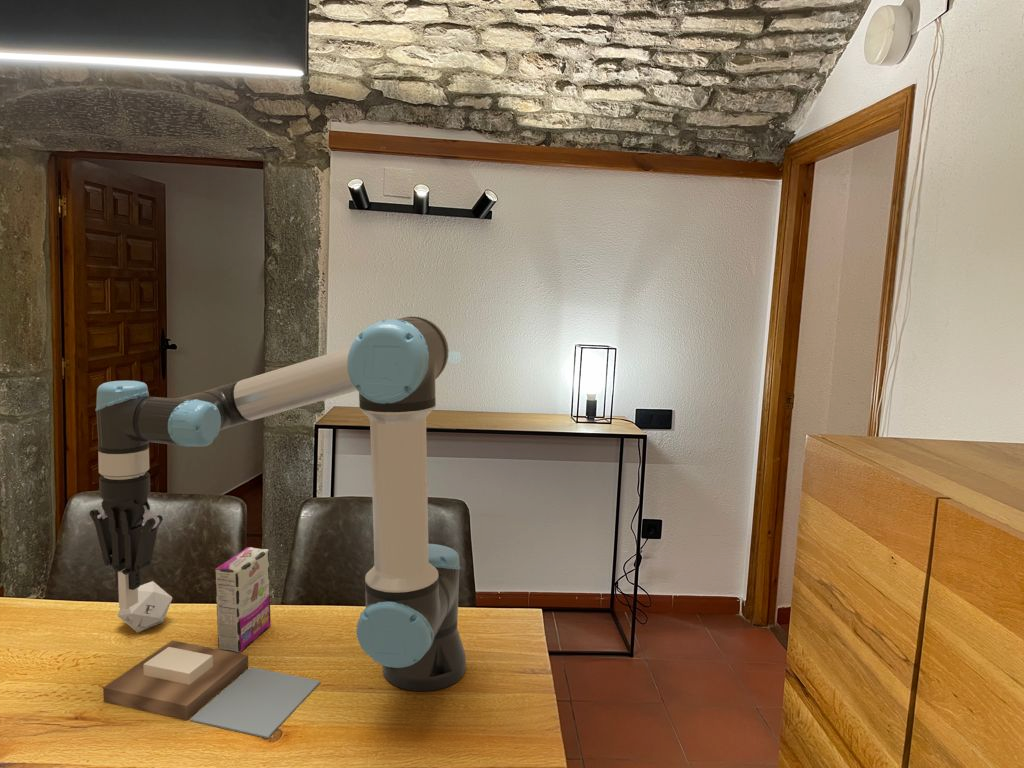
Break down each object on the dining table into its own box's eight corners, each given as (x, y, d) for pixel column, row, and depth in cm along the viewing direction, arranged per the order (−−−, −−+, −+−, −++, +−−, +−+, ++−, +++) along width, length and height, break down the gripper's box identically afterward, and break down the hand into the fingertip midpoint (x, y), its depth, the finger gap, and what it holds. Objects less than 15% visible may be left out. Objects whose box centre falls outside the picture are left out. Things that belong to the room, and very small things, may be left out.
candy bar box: (249, 622, 145) (247, 545, 142) (271, 626, 144) (270, 548, 141) (215, 650, 134) (213, 567, 132) (239, 654, 133) (238, 571, 131)
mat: (320, 682, 125) (320, 680, 125) (267, 738, 110) (267, 736, 110) (250, 668, 129) (250, 666, 129) (189, 720, 113) (189, 719, 113)
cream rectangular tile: (212, 666, 124) (212, 655, 124) (189, 684, 119) (189, 673, 118) (169, 657, 127) (168, 646, 126) (143, 675, 121) (143, 664, 120)
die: (109, 637, 138) (125, 607, 134) (119, 598, 145) (134, 568, 141) (156, 643, 142) (172, 615, 138) (163, 605, 149) (179, 576, 145)
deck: (248, 668, 129) (247, 655, 128) (187, 720, 113) (186, 705, 113) (172, 652, 133) (172, 640, 132) (103, 701, 117) (103, 687, 117)
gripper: (173, 472, 122) (176, 602, 125) (110, 463, 125) (114, 590, 128) (140, 484, 114) (144, 621, 118) (74, 474, 118) (79, 608, 121)
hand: (128, 605), depth 123 cm, fingers closed
